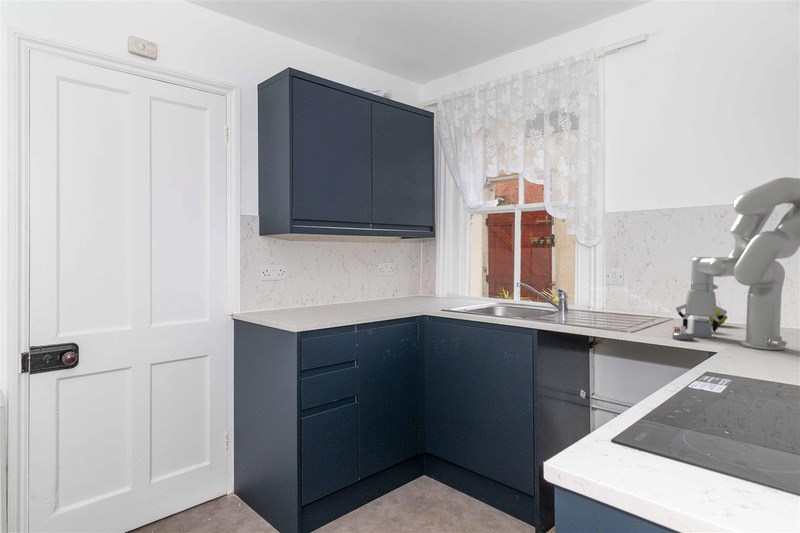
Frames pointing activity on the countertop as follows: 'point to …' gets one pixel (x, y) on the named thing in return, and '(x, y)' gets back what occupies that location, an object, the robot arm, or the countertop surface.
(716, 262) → the robot arm
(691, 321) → the white cup
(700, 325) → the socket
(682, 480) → the countertop surface
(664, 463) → the countertop surface
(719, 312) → the lemon
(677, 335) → the toy boat
